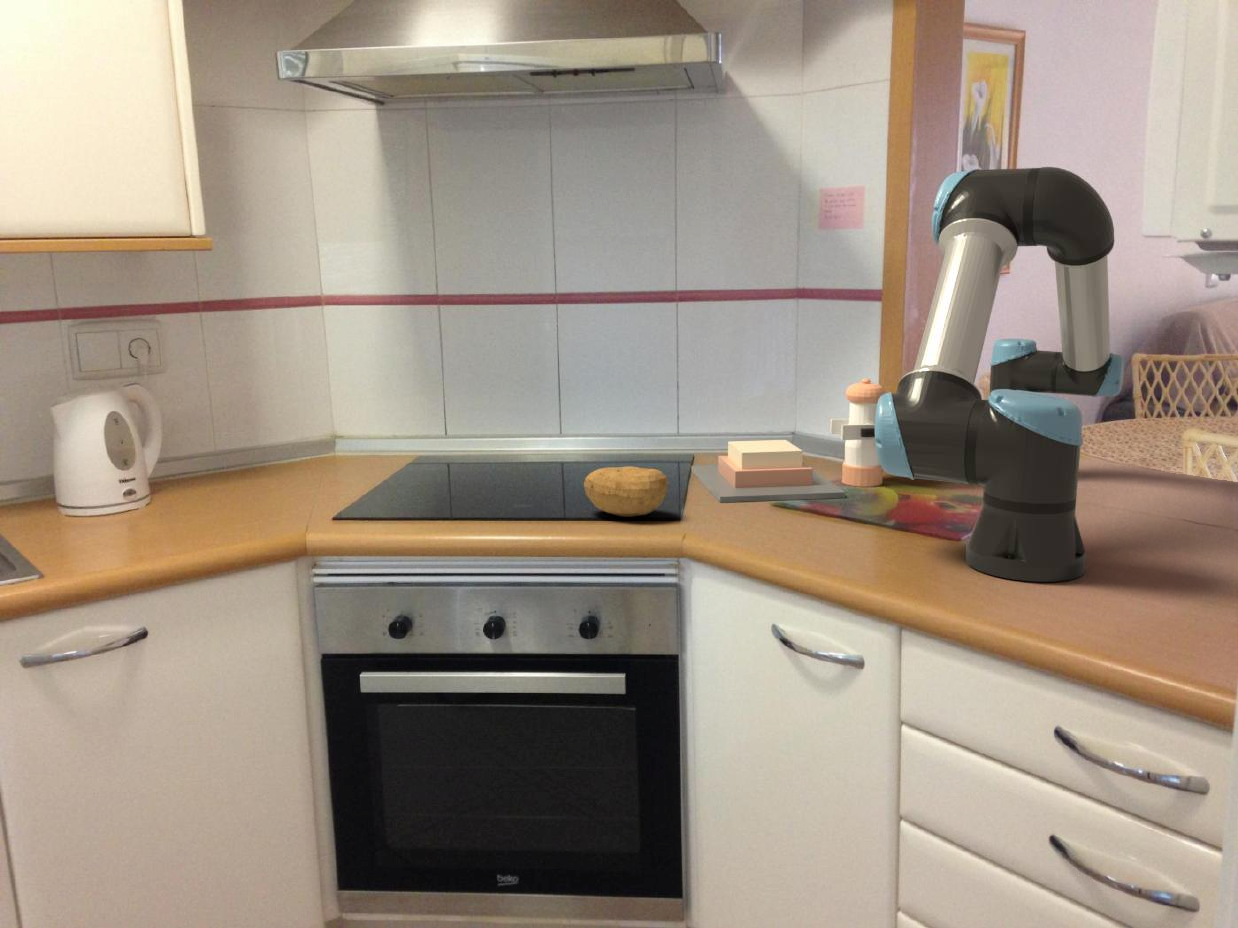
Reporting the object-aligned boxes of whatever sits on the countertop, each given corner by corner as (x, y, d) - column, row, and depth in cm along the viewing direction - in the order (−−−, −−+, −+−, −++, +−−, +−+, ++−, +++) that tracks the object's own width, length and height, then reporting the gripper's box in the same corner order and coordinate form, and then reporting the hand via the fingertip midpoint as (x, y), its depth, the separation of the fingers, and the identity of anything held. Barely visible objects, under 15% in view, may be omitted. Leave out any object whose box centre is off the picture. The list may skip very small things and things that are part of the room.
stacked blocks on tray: (845, 497, 180) (846, 458, 178) (720, 502, 177) (720, 462, 176) (801, 466, 205) (802, 432, 203) (691, 470, 202) (691, 435, 201)
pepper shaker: (883, 479, 193) (888, 376, 189) (881, 487, 187) (885, 381, 183) (843, 477, 196) (847, 375, 192) (839, 485, 189) (843, 380, 185)
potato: (596, 505, 176) (596, 459, 174) (675, 511, 171) (676, 464, 170) (574, 519, 167) (573, 470, 166) (657, 526, 162) (656, 476, 161)
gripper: (980, 455, 183) (852, 459, 180) (936, 437, 201) (819, 440, 198) (982, 413, 181) (854, 417, 179) (938, 398, 199) (821, 401, 197)
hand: (836, 429), depth 188 cm, fingers closed on pepper shaker, 5 cm apart
